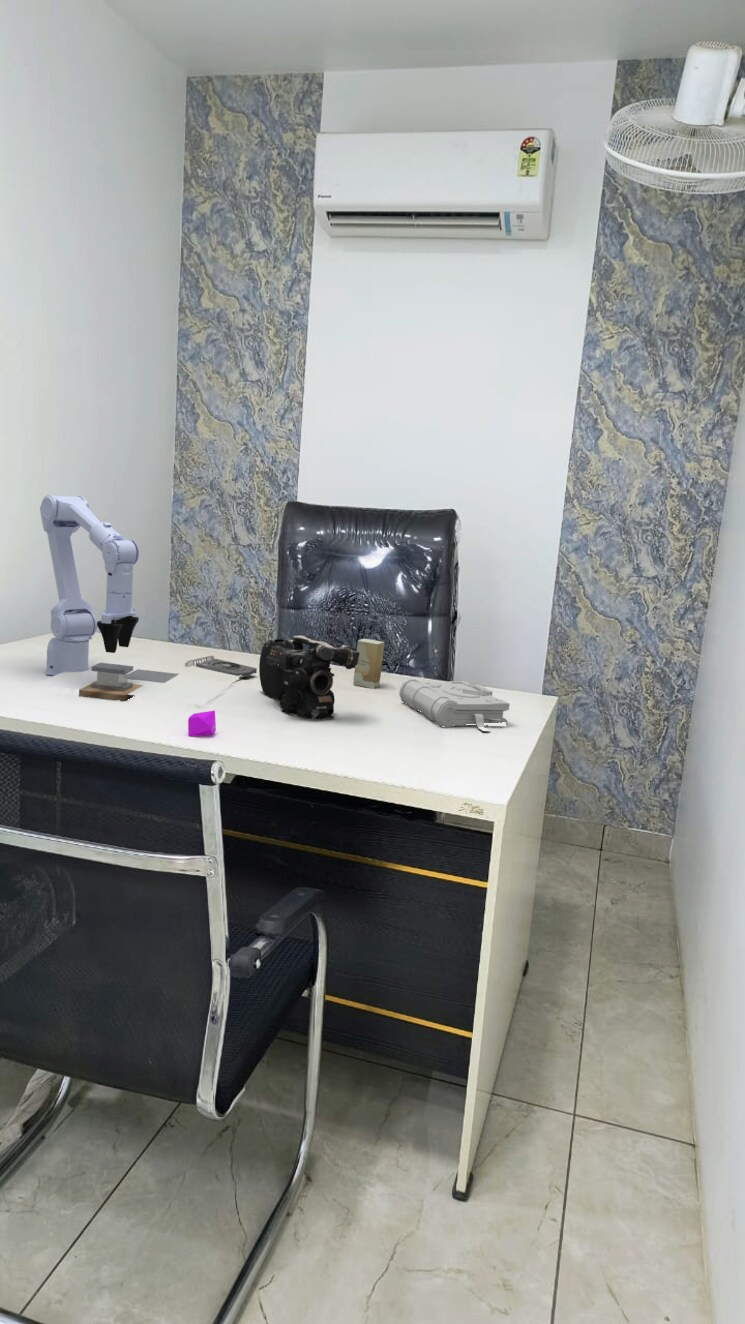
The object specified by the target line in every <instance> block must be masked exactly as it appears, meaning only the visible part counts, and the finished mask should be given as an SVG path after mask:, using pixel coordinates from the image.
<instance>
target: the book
mask: <svg viewBox="0 0 745 1324" xmlns="http://www.w3.org/2000/svg"><path fill="white" fill-rule="evenodd" d="M398 692H399V694H398V695H399V697H400V701H401V702H402V703H403V704H405V703H408V704H407V705H408V706H409V707H410V708H412V709H413V710H415V711H417V710H419V711H418V712H420V711H421V712H420V713H422V714H424V716H426V717H427V718H428V719H429V718H430V719H429V720H431V721H432V722H434V721H435V722H434V723H436V722H437V725H438V726H440V727H442V726H453V725H455V726H467V725H466V724H476V725H477V726H476V728H477V727H478V728H479V727H484V726H485V725H484V723H499V722H500V723H502V722H507V723H508V719H506V718H504V717H503V715H504V712H507V711H509V710H510V702H508V701H506V700H503V699H501V698H497V697H495V696H493V691H492V690H490V689H489V688H486V687H485V686H483V685H482V684H481V685H480V684H478V683H474V684H473V683H472V684H471V683H470V682H469V681H468V682H467V681H466V680H465V681H464V680H450V681H420V680H418V679H416V678H408V679H406V680H404V681H403V683H402V685H401V686H400V688H399V691H398ZM485 727H486V726H485ZM478 728H477V729H478Z"/></svg>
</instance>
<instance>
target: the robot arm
mask: <svg viewBox="0 0 745 1324" xmlns="http://www.w3.org/2000/svg"><path fill="white" fill-rule="evenodd" d="M39 511H40V518H41V522H42V527H43V531H44V532H45V533H46V534H47V535H46V536H47V539H48V546H49V551H50V557H51V561H52V567H53V572H54V578H55V584H56V590H57V595H58V600H59V602H58V603H57V604H55V606H53V607H52V608H51V610H50V630H51V633H52V635H53V637H52V638H50V640H49V641H48V644H47V648H46V672H45V673H44V674H45V675H47V676H57V675H60V674H61V673H64V672H66V673H67V672H69V673H76V672H77V673H80V672H81V673H82V672H86V671H88V670H89V656H90V655H89V653H90V651H89V650H90V648H89V647H90V640H92V639H93V638H92V637H93V636H94V635H95V634H96V631H97V629H98V630H99V633H100V634H101V637H102V641H103V646H104V649H105V652H106V653H111V654H116V651H117V648H118V647H117V646H119V647H121V648H128V647H129V646H130V644H131V643H130V642H131V639H132V635H133V632H134V630H135V627H136V626H137V624H138V622H139V619H140V618H139V617H138V616H137V612H136V611H135V609H136V608H135V606H132V605H133V604H132V601H133V600H132V599H133V580H134V579H133V577H134V576H133V575H134V574H133V573H134V565H135V564H136V563H137V562H138V560H139V559H140V558H139V556H140V550H139V547H138V544H137V542H136V541H135V539H127V538H124V537H123V536H122V535H121V533H119V532H117V531H116V530H115V529H114V527H112V524H111V522H106V521H105V522H104V521H103V522H102V521H100V520H99V519H98V518H97V516H96V515H95V514H94V513H93V512H92V511H91V509H90V503H89V501H87V500H86V498H85V497H84V496H81V495H78V496H72V495H71V496H70V495H52V494H46V495H45V496H44V498H42V501H41V504H40V507H39ZM80 528H83V530H85V531H87V532H88V533H89V534H88V538H89V540H90V541H91V543H92V544H93V545H95V546H96V547H97V549H99V551H100V552H102V553H101V554H102V555H101V556H102V560H103V562H104V569H105V572H106V595H105V596H106V597H105V599H106V601H105V610H104V612H103V613H102V614H101V619H100V620H98V621H97V618H96V616H95V614H94V612H93V607H92V605H91V604H90V603H89V602H87V601H85V600H84V599H83V598H82V595H81V590H80V583H79V579H78V574H77V567H76V562H75V558H74V551H73V546H72V545H73V544H72V541H71V536H72V535H73V534H74V533H76V532H78V530H80Z"/></svg>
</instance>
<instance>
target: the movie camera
mask: <svg viewBox="0 0 745 1324" xmlns="http://www.w3.org/2000/svg"><path fill="white" fill-rule="evenodd" d="M304 644H305V645H307V646H309V648H308V650H307V651H306V650H305V649H304ZM359 654H360V653H359V652H357V648H355V647H353V646H349V645H346V644H341V645H339V646H337V647H334V646H332V645H330V644H329V643H327V642H325V641H323V640H320V639H316V638H313V637H310V636H306V635H294V636H292V639H291V638H290V639H281V638H279V639H269V640H268V641H266V642H265V643H264V644H263V646H262V649H261V651H260V654H259V655H260V657H259V664H258V666H259V669H258V670H259V671H258V672H259V682H260V685H261V689H262V692H263V694H264V695H266V696H268V697H270V698H272V699H274V700H276V701H279V707H280V708H281V710H282V711H281V712H282V713H284V714H286V715H288V716H289V715H297V717H301V718H304V719H309V720H311V719H314V720H317V721H319V720H326V719H334V718H335V716H333V714H334V712H335V701H336V700H335V694H334V692H333V690H331V689H332V687H333V684H334V678H333V677H335V673H333V672H331V671H332V668H331V662H332V663H334V664H338V665H339V666H343V667H344V668H346V670H353V669H355V666H356V665H357V663H358V658H359ZM313 711H317V712H318V714H317V715H316V716H315V714H313Z"/></svg>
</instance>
